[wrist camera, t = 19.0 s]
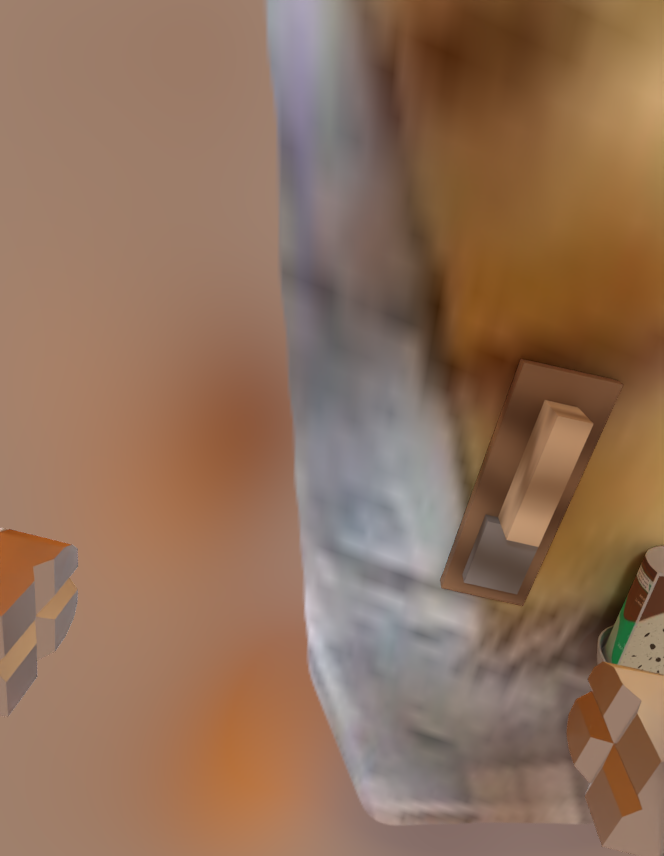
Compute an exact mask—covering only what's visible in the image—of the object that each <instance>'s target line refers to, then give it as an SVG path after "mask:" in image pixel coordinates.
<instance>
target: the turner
mask: <svg viewBox="0 0 664 856" xmlns="http://www.w3.org/2000/svg"><path fill="white" fill-rule="evenodd" d="M592 427H593V423H592V422H591V421H590V420H589V418H588V417H587V416H586V415H585V414H584V413H583V412H582V411H581V410H580V409H579V408H578V407H574V406H570V405H565V404H561V403H557V402H552V401H548V400H545V401H544V403H543V406H542V408H541V411H540V413H539V416H538V418H537V421H536V423H535V426H534V428H533V431H532V433H531V436H530V438H529V441H528V443H527V446H526V448H525V451H524V453H523V456H522V458H521V461H520V463H519V466H518V468H517V471H516V473H515V476H514V478H513V481H512V483H511V486H510V489H509V491H508V494H507V496H506V499H505V501H504V504H503V506H502V509H501V511H500V514H499V516H498V517H495V516H490V515H485V517H484V520H483V522H482V525H481V527H480V530H479V533H478V535H477V538H476V540H475V543H474V546H473V548H472V551H471V553H470V556H469V559H468V561H467V564H466V566H465V569H464V571H463V574H462V576H463V580H464V583H468V584H472V585H477V586H481V587H486V588H490V589H495V590H499V591H504V592H508V593H513V594H518V591H519V589H520V587H521V585H522V582H523V580H524V578H525V576H526V573H527V571H528V569H529V567H530V565H531V562H532V560H533V558H534V556H535V553H536V551H537V549H538V547H539V545H540V543H541V540H542V538H543V536H544V534H545V531H546V529H547V527H548V525H549V522H550V520H551V518H552V516H553V514H554V511H555V509H556V507H557V505H558V502H559V500H560V498H561V496H562V493H563V491H564V489H565V487H566V485H567V482H568V480H569V478H570V476H571V473H572V471H573V469H574V467H575V464H576V462H577V460H578V458H579V456H580V453H581V451H582V449H583V447H584V444H585V442H586V440H587V438H588V435H589V433H590V431H591V429H592Z"/></svg>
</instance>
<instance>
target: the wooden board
mask: <svg viewBox="0 0 664 856" xmlns="http://www.w3.org/2000/svg"><path fill="white" fill-rule="evenodd" d="M622 387H623V384H622V383H620V382H619V381H618V380H614V379H610V378H605V377H601V376H596V375H592V374H587V373H583V372H578V371H574V370H569V369H565V368H560V367H556V366H552V365H547V364H543V363H538V362H534V361H529V360H525V359H520V362H519V365H518V367H517V370H516V373H515V376H514V378H513V381H512V384H511V387H510V389H509V392H508V395H507V398H506V400H505V403H504V406H503V409H502V411H501V414H500V417H499V420H498V422H497V425H496V428H495V431H494V433H493V436H492V439H491V442H490V444H489V447H488V450H487V453H486V456H485V458H484V461H483V464H482V467H481V469H480V472H479V475H478V478H477V480H476V483H475V486H474V489H473V491H472V494H471V497H470V500H469V502H468V505H467V508H466V511H465V513H464V516H463V519H462V522H461V524H460V527H459V530H458V533H457V535H456V538H455V541H454V544H453V546H452V549H451V552H450V555H449V557H448V560H447V563H446V566H445V568H444V571H443V574H442V577H441V579H440V582H441V588H444V589H449V590H453V591H458V592H462V593H467V594H471V595H476V596H481V597H485V598H490V599H494V600H499V601H503V602H508V603H512V604H517V605H522V606H523V605H524V602H525V600H526V598H527V596H528V594H529V591H530V589H531V587H532V585H533V583H534V580H535V578H536V576H537V574H538V572H539V569H540V567H541V565H542V563H543V561H544V558H545V556H546V554H547V552H548V550H549V547H550V545H551V543H552V541H553V539H554V536H555V534H556V532H557V530H558V528H559V525H560V523H561V521H562V519H563V517H564V514H565V512H566V510H567V508H568V506H569V503H570V501H571V499H572V497H573V495H574V492H575V490H576V488H577V486H578V484H579V481H580V479H581V477H582V475H583V473H584V470H585V468H586V466H587V464H588V462H589V459H590V457H591V455H592V453H593V451H594V448H595V446H596V444H597V442H598V440H599V437H600V435H601V433H602V431H603V429H604V426H605V424H606V422H607V420H608V418H609V415H610V413H611V411H612V409H613V407H614V405H615V402H616V400H617V398H618V396H619V394H620V391H621V389H622ZM545 400H548V401H552V402H557V403H561V404H565V405H570V406H574V407H578V408H579V409H580V410H581V411H582V412H583V413H584V414H585V415H586V416H587V417H588V418H589V420H590V421H591V422H592V423H593V427H592V429H591V431H590V433H589V435H588V438H587V440H586V442H585V444H584V447H583V449H582V451H581V453H580V456H579V458H578V460H577V462H576V464H575V467H574V469H573V471H572V473H571V476H570V478H569V480H568V482H567V485H566V487H565V489H564V491H563V493H562V496H561V498H560V500H559V502H558V505H557V507H556V509H555V511H554V514H553V516H552V518H551V520H550V522H549V525H548V527H547V529H546V531H545V534H544V536H543V538H542V540H541V543H540V545H539V547H538V549H537V551H536V553H535V556H534V558H533V560H532V562H531V565H530V567H529V569H528V571H527V573H526V576H525V578H524V580H523V582H522V585H521V587H520V589H519V591H518V594H513V593H508V592H504V591H499V590H495V589H490V588H486V587H481V586H477V585H472V584H468V583H464V580H463V576H462V574H463V571H464V569H465V566H466V564H467V561H468V559H469V556H470V553H471V551H472V548H473V546H474V543H475V540H476V538H477V535H478V533H479V530H480V527H481V525H482V522H483V520H484V517H485V515H490V516H495V517H498V516H499V514H500V511H501V509H502V506H503V504H504V501H505V499H506V496H507V494H508V491H509V489H510V486H511V483H512V481H513V478H514V476H515V473H516V471H517V468H518V466H519V463H520V461H521V458H522V456H523V453H524V451H525V448H526V446H527V443H528V441H529V438H530V436H531V433H532V431H533V428H534V426H535V423H536V421H537V418H538V416H539V413H540V411H541V408H542V406H543V403H544V401H545Z"/></svg>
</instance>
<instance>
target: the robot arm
mask: <svg viewBox="0 0 664 856" xmlns="http://www.w3.org/2000/svg"><path fill="white" fill-rule="evenodd" d="M77 551H78V550H77V548H76V547H75V546H73V545H72V544H69V543H65V542H61V541H57V540H52V539H49V538H45V537H40V536H36V535H32V534H28V533H24V532H20V531H16V530H12V529H5V528H1V527H0V716H6V717H8V716H9V715H10V713H11V712H12V711H13V709H14V708H15V706H16V705H17V704H18V702H19V701H20V700H21V698H22V697H23V695H24V694H25V693H26V691H27V690H28V688H29V687H30V686H31V684H32V683H33V682H34V680H35V679H36V677H37V661H38V660H40V659H42V658H44V657H46V656H48V655H50V654H51V653H53V652H55V651H56V649H57V648H58V646H59V645H60V644H61V642H62V641H63V639H64V638H65V636H66V634H67V632H68V630H69V627H70V624H71V623H72V620H73V618H74V615H75V610H76V605H77V594H78V590H77V588H76V586H75V585H74V584H73V582H72V581H71V579H70V578H69V577H70V576H71V575H72V573H73V572H74V571H75V570H76V568H77V567H78V554H77V553H78V552H77ZM588 682H589V685H590V688H591V691H590V692H589V693H587V694H585V695H583V696H581V697H579V698H577V699H576V700H575V702H574V704H573V706H572V708H571V710H570V712H569V714H568V723H567V732H566V734H567V741H568V749H569V752H570V755H571V758H572V761H573V764H574V766H575V767H576V768H577V770H578V771H579V772H580V773H581V774H582V775H583V776H584V777H585V779H586V780H587V781H588V782H589V786H588V788H587V791H586V794H585V799H586V802H587V805H588V808H589V811H590V814H591V817H592V819H593V822H594V825H595V828H596V831H597V834H598V837H599V839H600V842H601V845H602V847H606V848H610V849H614V850H618V851H622V852H626V853H630V854H634V855H638V856H664V675H663V674H659V673H655V672H650V671H645V670H641V669H636V668H631V667H627V666H622V665H617V664H613V663H608V662H601V663H600V664H598V665H597V666H595V667H594V668H593V670H592V672H591V674H590V675H589V677H588Z"/></svg>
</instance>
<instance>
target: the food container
mask: <svg viewBox="0 0 664 856" xmlns="http://www.w3.org/2000/svg"><path fill="white" fill-rule="evenodd" d="M601 662H608V663H613V664H617V665H622V666H627V667H631V668H636V669H641V670H645V671H650V672H655V673H659V674H663V675H664V546H656V547H653V548H651V549H648V550H647V552H646V554H645V557H644V559H643V561H642V563H641V566H640V568H639V570H638V572H637V575H636V577H635V579H634V582H633V584H632V586H631V588H630V591H629V593H628V595H627V597H626V600H625V602H624V604H623V606H622V609H621V611H620V613H619V615H618V618H617V620H616V622H615V624H614V625H612V626H610V627H608V628H606V629H605V630H603V631H602V632H601V634H600V635H599V637H598V645H597V664H600V663H601Z"/></svg>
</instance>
